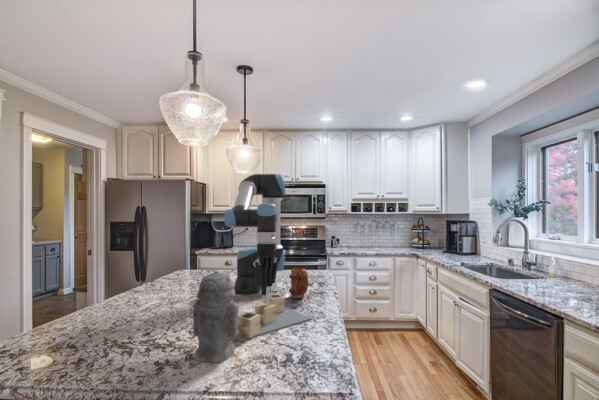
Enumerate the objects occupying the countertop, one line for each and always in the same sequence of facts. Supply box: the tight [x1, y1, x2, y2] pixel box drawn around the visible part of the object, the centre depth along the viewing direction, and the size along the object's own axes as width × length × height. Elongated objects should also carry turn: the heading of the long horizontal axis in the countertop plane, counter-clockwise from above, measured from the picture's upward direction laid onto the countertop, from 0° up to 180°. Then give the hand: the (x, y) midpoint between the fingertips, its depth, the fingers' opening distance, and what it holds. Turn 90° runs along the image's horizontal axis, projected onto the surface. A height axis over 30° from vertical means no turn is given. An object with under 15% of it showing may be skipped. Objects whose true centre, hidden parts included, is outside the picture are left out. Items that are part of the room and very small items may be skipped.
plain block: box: [254, 303, 277, 325], centre depth 114 cm, size 6×6×6 cm
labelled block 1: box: [238, 311, 260, 339], centre depth 102 cm, size 6×6×6 cm
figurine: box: [192, 270, 240, 364], centre depth 88 cm, size 10×14×25 cm
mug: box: [288, 267, 309, 299], centre depth 145 cm, size 15×8×15 cm, turn 25°
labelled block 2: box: [270, 293, 285, 312], centre depth 126 cm, size 6×6×6 cm
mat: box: [234, 306, 312, 342], centre depth 114 cm, size 20×32×1 cm, turn 129°
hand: (265, 302), depth 114 cm, fingers closed
